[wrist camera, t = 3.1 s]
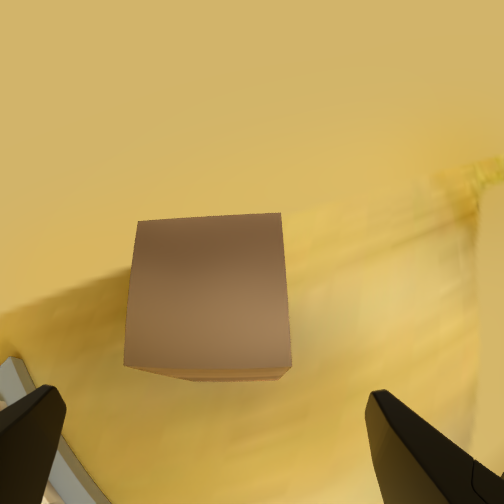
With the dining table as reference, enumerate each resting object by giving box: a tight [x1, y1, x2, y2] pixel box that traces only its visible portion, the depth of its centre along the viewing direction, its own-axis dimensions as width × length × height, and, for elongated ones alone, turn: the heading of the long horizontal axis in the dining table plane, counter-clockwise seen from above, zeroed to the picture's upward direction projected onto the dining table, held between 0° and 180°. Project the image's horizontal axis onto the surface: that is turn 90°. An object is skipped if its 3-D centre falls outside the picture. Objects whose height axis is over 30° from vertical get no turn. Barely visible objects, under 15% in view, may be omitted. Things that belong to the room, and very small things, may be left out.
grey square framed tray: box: [0, 356, 111, 504], centre depth 12 cm, size 14×14×3 cm
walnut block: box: [124, 213, 292, 382], centre depth 14 cm, size 5×5×10 cm
